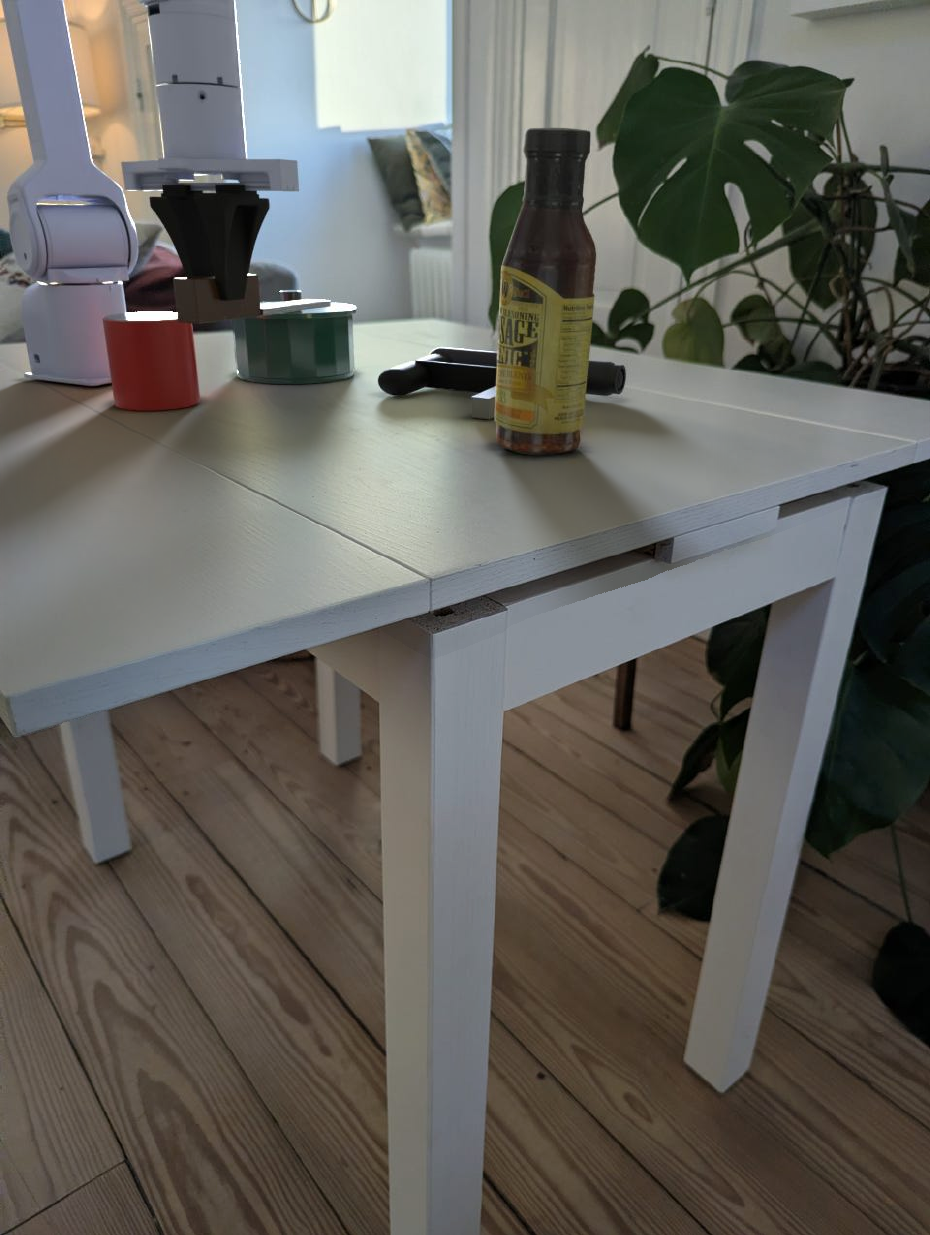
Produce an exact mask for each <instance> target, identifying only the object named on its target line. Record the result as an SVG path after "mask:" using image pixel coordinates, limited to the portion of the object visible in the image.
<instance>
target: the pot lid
mask: <svg viewBox="0 0 930 1235" xmlns="http://www.w3.org/2000/svg"><path fill="white" fill-rule="evenodd" d="M279 292H280V301H260V305H263V304H271V303H280V302H288V301H296V300H303V299H302V291H301V290H300V289H299V290H298V289H296V290H295V289H285V290H283V289H282V290H280V291H279ZM356 313H357V306H356V305H353V304H348V303H343V302H331V306H330V307H323V308H316V309H309V310H301V311H294V312H286V313H279V314H272V315H264V316H262V315H260V316H253V317H246V318H261V319H313V318H330V317H340V316H347V315H352V316H353V315H354V314H356Z"/></svg>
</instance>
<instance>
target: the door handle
mask: <svg viewBox="0 0 930 1235" xmlns="http://www.w3.org/2000/svg"><path fill="white" fill-rule="evenodd" d="M496 375H497V351H492V350H491V351H490V350H480V349H479V350H478V349H468V348H457V347H447V346H440V347H435V348H433V349H432V350H431V351H430V352H429V353H428V355H426V356H423V357H420V358H417V359H413V360H412V361H411V360H410V361H408V362H405V363H402V364H400V365H399V364H398V365H396V366H394V367H391V368H387V369H385V370H383V371H381V373H380V374H379V375H378V377H377V385H378V387H379V388H380V390H381V391H382V392H384V393H386V394H387V395H390V396H394V397H402V396H406V395H409V394H411V393H414V392H417V391H419V390H421V389H424V388H429V389H439V390H447V391H448V390H449V391H455V392H456V391H457V392H468V393H476V394H475V395H472V396H471V418H477V419H484V420H491V419H494V418H495V395H496ZM626 380H627V369H626V366H625V365H624V364H617V363H615V362H613V361H608V360H598V359H589V364H588V375H587V387H586V395H591V396H601V397H609V396H612V395H620V394H622V392H623V391H624V389H625V386H626Z"/></svg>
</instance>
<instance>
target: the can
mask: <svg viewBox="0 0 930 1235" xmlns="http://www.w3.org/2000/svg"><path fill="white" fill-rule="evenodd" d="M102 320H103V327H104V333H105V340H106V347H107V354H108V361H109V368H110V375H111V381H112V383H111V388H112V394H113V400H114V401H113V402H114V406H115V407H117V408H119V409H122V410H126V411H127V410H128V411H142V412H143V411H145V412H146V411H147V412H148V411H149V412H150V411H151V412H152V411H153V412H154V411H171V410H178V409H185V408H190V407H192V406H195V405H198V404H199V403H201V393H200V385H199V374H198V366H197V365H198V364H197V356H196V345H195V336H194V330H193V329H194V328H193V323H182V322H178V318H177V312H173V311H137V312H136V311H135V312H126V313H120V314H112V315H108V316H105V317H104V318H103V319H102Z"/></svg>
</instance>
